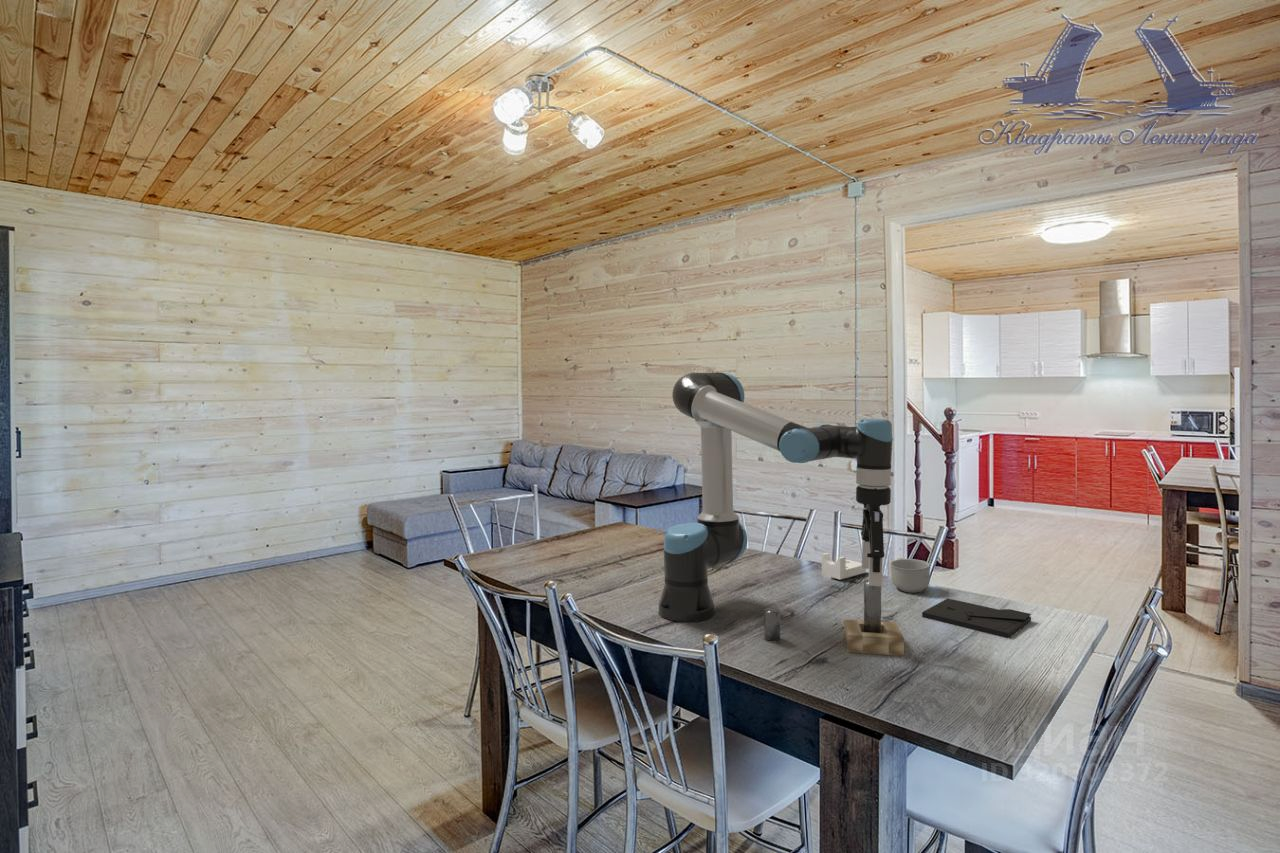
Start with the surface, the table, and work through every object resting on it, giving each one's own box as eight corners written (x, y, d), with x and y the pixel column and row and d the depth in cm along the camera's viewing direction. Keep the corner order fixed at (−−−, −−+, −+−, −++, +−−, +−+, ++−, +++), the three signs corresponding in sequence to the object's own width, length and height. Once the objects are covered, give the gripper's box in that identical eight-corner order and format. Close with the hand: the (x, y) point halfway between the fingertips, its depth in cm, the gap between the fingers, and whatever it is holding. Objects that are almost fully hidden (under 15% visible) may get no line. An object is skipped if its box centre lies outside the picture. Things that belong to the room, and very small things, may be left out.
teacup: (933, 596, 188) (933, 568, 188) (893, 594, 191) (893, 567, 190) (922, 581, 202) (923, 556, 202) (885, 580, 204) (885, 555, 204)
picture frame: (1030, 624, 167) (947, 605, 183) (1031, 613, 167) (947, 595, 182) (1008, 641, 157) (922, 619, 172) (1008, 630, 157) (922, 609, 172)
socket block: (847, 651, 150) (847, 634, 150) (843, 635, 160) (844, 619, 160) (903, 655, 148) (903, 638, 148) (896, 638, 158) (896, 622, 157)
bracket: (840, 582, 204) (840, 558, 203) (821, 577, 210) (821, 554, 209) (866, 575, 211) (866, 551, 211) (847, 570, 217) (847, 547, 217)
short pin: (763, 641, 157) (763, 612, 157) (764, 635, 161) (764, 607, 161) (780, 642, 157) (780, 613, 156) (780, 636, 160) (780, 608, 160)
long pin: (864, 647, 153) (865, 584, 152) (863, 641, 156) (863, 579, 155) (882, 648, 152) (882, 584, 151) (879, 642, 156) (880, 579, 155)
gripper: (900, 496, 139) (897, 595, 140) (882, 478, 163) (880, 562, 165) (862, 495, 140) (860, 592, 142) (851, 477, 165) (849, 560, 166)
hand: (871, 576), depth 153 cm, fingers open, 13 cm apart
